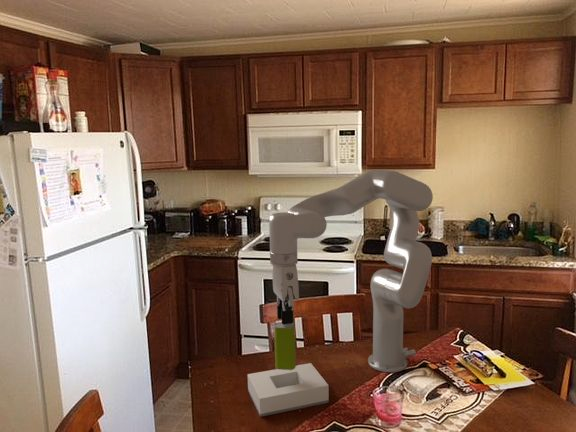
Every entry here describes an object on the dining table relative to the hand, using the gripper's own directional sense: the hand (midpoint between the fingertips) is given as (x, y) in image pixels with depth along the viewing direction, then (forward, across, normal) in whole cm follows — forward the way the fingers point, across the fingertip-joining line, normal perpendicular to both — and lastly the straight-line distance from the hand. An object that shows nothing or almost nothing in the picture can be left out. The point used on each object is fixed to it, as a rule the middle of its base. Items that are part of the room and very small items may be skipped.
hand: (285, 320), depth 135 cm
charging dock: (+23, 0, 0) cm, 23 cm away
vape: (+14, 0, 0) cm, 14 cm away
